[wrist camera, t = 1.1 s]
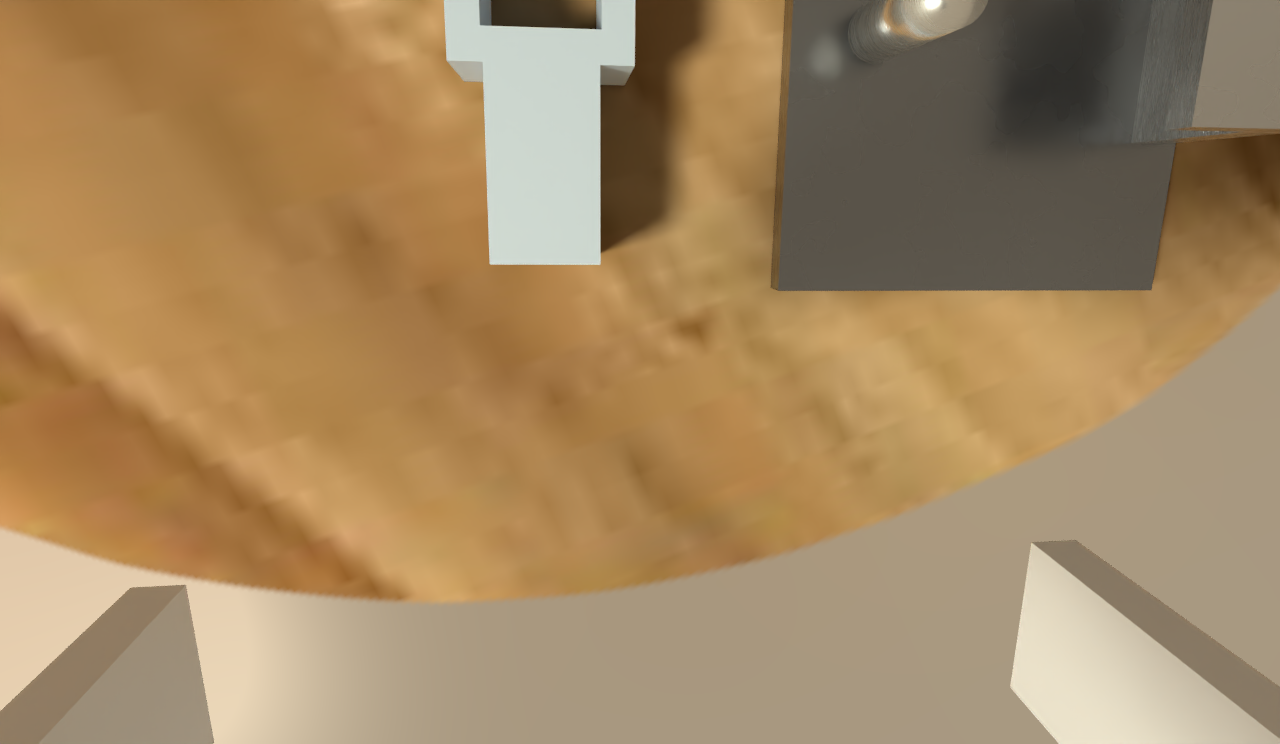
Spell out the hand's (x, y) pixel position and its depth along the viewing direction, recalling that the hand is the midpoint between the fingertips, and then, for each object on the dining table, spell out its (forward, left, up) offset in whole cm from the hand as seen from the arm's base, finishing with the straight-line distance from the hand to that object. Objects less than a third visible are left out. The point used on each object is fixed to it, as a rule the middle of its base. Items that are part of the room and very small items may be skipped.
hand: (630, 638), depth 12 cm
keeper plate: (-10, +14, -18) cm, 25 cm away
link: (-10, -2, -18) cm, 21 cm away
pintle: (-12, +10, -18) cm, 24 cm away
